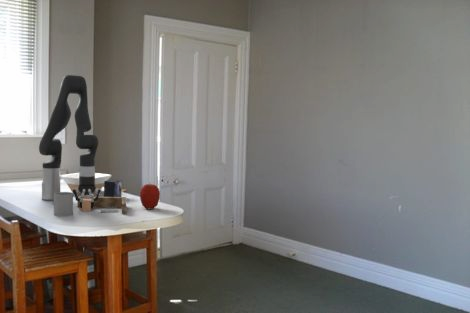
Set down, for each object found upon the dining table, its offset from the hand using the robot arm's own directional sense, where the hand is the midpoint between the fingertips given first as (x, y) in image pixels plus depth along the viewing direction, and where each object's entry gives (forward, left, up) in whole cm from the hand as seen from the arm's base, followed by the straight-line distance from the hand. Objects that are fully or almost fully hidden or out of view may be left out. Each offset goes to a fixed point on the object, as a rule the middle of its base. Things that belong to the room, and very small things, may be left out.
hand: (86, 209), depth 254 cm
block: (0, 0, 0) cm, 0 cm away
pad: (+11, -5, 0) cm, 12 cm away
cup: (-10, -11, -1) cm, 15 cm away
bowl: (-4, +54, -1) cm, 54 cm away
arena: (+7, -2, 0) cm, 7 cm away
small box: (+12, +33, -1) cm, 35 cm away
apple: (+31, +1, -1) cm, 31 cm away
